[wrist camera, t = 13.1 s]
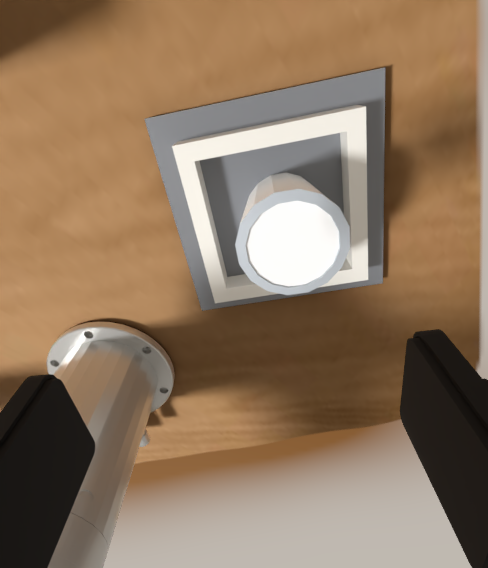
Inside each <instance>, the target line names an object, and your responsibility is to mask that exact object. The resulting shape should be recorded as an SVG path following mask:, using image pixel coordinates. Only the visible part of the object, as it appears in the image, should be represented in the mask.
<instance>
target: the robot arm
mask: <svg viewBox="0 0 488 568" xmlns="http://www.w3.org/2000/svg"><path fill="white" fill-rule="evenodd" d="M47 369H48V374H47V375H38V376H30V377H28V378H27V379H26V380H25V381H24V382H23V383H22V385H21V386H20V387H19V389H18V390H17V391H16V393H15V394H14V395H13V397H12V398H11V399H10V401H9V402H8V403H7V405H6V406H5V407H4V409H3V410H2V411H1V412H0V568H103V566H104V562H105V559H106V555H107V551H108V549H109V545H110V542H111V539H112V536H113V532H114V529H115V525H116V522H117V519H118V516H119V512H120V509H121V506H122V502H123V499H124V496H125V492H126V488H127V486H128V482H129V479H130V475H131V472H132V469H133V466H134V462H135V459H136V456H137V452H138V449H139V446H140V447H143V446H146V445H147V444H148V443H149V441H150V437H149V435H148V433H147V431H146V425H147V422H148V419H149V415H150V413H151V412H153V411H155V410H156V409H158V408H159V407H161V406H162V405H163V404H164V403H165V402H166V401H167V399H168V398H169V396H170V394H171V391H172V388H173V384H174V377H175V374H174V367H173V365H172V362H171V359H170V357H169V356H168V354H167V353H166V351H165V350H164V349H163V348H162V347H161V346H160V345H159V344H158V343H157V342H156V341H155V340H153V339H152V338H151V337H149V336H148V335H147V334H145V333H143V332H141V331H139V330H137V329H135V328H132V327H129V326H126V325H123V324H118V323H113V322H89V323H84V324H80V325H77V326H74V327H72V328H71V329H69V330H67V331H65V332H64V333H63V334H62V335H61V336H60V337H59V338H58V339H57V340H56V342H55V343H54V344H53V346H52V347H51V349H50V351H49V353H48V357H47ZM400 416H401V420H402V423H403V425H404V427H405V429H406V432H407V434H408V436H409V438H410V440H411V442H412V444H413V446H414V448H415V450H416V452H417V454H418V457H419V459H420V461H421V463H422V465H423V467H424V469H425V471H426V473H427V475H428V477H429V480H430V482H431V484H432V486H433V488H434V490H435V492H436V494H437V496H438V498H439V500H440V503H441V504H442V507H443V509H444V511H445V513H446V515H447V517H448V519H449V521H450V523H451V525H452V528H453V530H454V532H455V534H456V536H457V538H458V540H459V542H460V544H461V546H462V548H463V551H464V553H465V555H466V557H467V559H468V561H469V563H470V565H471V566H472V568H488V380H487V379H482V378H481V377H480V376H479V374H478V373H477V372H476V371H475V370H474V368H473V367H472V366H471V365H470V364H469V362H468V361H467V360H466V359H465V358H464V356H463V355H462V354H461V353H460V351H459V350H458V349H457V348H456V347H455V345H454V344H453V343H452V342H451V341H450V339H449V338H448V337H447V336H446V335H445V333H444V332H443V331H441V330H439V329H438V330H429V331H420V332H415V334H414V336H413V338H410V339H408V340H407V346H406V356H405V366H404V376H403V385H402V395H401V405H400Z"/></svg>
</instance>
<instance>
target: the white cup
mask: <svg viewBox="0 0 488 568" xmlns="http://www.w3.org/2000/svg"><path fill="white" fill-rule="evenodd" d="M235 247H236V252H237V257H238V262H239V265H240V267H241V268H242V269H243V271H244V272H245V274H246V275H247V276H248V278H249V279H250V281H252V282H254V283H255V284H257V285H258V286H260V287H262V288H263V289H265V290H266V291H269V292H274V293H279V294H284V295H293V294H300V293H307V292H310V291H312V290H314V289H316V288H318V287H320V286H322V285H324V284H326V283H328V281H329V280H330V279H331V278H332V277H333V276H334V275H335V274H336V273H337V272H338V271H339V270H340V269H341V268H342V266H343V264H344V261H345V259H346V256H347V254H348V252H349V249H350V227H349V225H348V223H347V221H346V219H345V217H344V215H343V213H342V211H341V209H340V208H339V207H338V206H337V205H336V204H335V203H333V202H332V201H331V200H330V199H329V198H327V197H326V196H325V195H324V194H322V193H321V192H320V191H319V190H318V189H316V188H315V187H314V186H313V185H311V184H310V183H309V182H308V181H306V180H305V179H304V178H302V177H301V176H298V175H294V174H290V173H280V174H274V175H270V176H269V177H267V178H265V179H264V180H262V181H261V182H259V183H258V184H257V185H256V187H255V188H254V189H253V191H252V192H251V194H250V195H249V198H248V201H247V204H246V207H245V210H244V213H243V216H242V219H241V222H240V226H239V230H238V234H237V239H236V243H235Z"/></svg>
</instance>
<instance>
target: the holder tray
mask: <svg viewBox="0 0 488 568" xmlns="http://www.w3.org/2000/svg"><path fill="white" fill-rule="evenodd" d="M145 123H146V126H147V129H148V133H149V136H150V139H151V143H152V146H153V149H154V153H155V156H156V159H157V163H158V166H159V169H160V173H161V176H162V179H163V183H164V186H165V189H166V192H167V196H168V199H169V202H170V206H171V209H172V212H173V216H174V219H175V222H176V226H177V229H178V232H179V236H180V239H181V242H182V246H183V249H184V252H185V256H186V259H187V262H188V266H189V269H190V272H191V276H192V279H193V282H194V286H195V289H196V292H197V296H198V299H199V302H200V306H201V309H202V311H203V310H210V309H217V308H223V307H230V306H236V305H243V304H249V303H256V302H262V301H269V300H276V299H282V298H289V297H295V296H302V295H308V294H315V293H322V292H328V291H335V290H341V289H348V288H354V287H361V286H367V285H374V284H381V283H383V226H384V140H385V68H379V69H374V70H369V71H365V72H360V73H355V74H351V75H346V76H341V77H337V78H332V79H327V80H323V81H318V82H313V83H309V84H304V85H299V86H295V87H290V88H285V89H281V90H276V91H271V92H267V93H262V94H257V95H253V96H248V97H243V98H239V99H234V100H229V101H225V102H220V103H215V104H211V105H206V106H201V107H196V108H192V109H187V110H182V111H178V112H173V113H168V114H164V115H159V116H154V117H150V118H146V119H145ZM280 173H290V174H294V175H298V176H301V177H302V178H304V179H305V180H306V181H308V182H309V183H310V184H311V185H313V186H314V187H315V188H316V189H318V190H319V191H320V192H321V193H322V194H324V195H325V196H326V197H327V198H329V199H330V200H331V201H332V202H333V203H335V204H336V205H337V206H338V207H339V208H340V209H341V211H342V213H343V215H344V217H345V219H346V221H347V223H348V225H349V227H350V249H349V252H348V254H347V256H346V259H345V261H344V264H343V266H342V268H341V269H340V270H339V271H338V272H337V273H336V274H335V275H334V276H333V277H332V278H331V279H330V280H329V281H328V283H326V284H324V285H322V286H320V287H318V288H316V289H314V290H312V291H310V292H307V293H300V294H293V295H284V294H279V293H274V292H269V291H266V290H265V289H263V288H262V287H260V286H258V285H257V284H255V283H254V282H252V281H250V279H249V278H248V276H247V275H246V274H245V272H244V271H243V269H242V268H241V267H240V265H239V262H238V257H237V252H236V247H235V243H236V239H237V234H238V230H239V226H240V222H241V219H242V216H243V213H244V210H245V207H246V204H247V201H248V198H249V195H250V194H251V192H252V191H253V189H254V188H255V187H256V185H257V184H258V183H259V182H261V181H262V180H264V179H265V178H267V177H269V176H270V175H274V174H280Z"/></svg>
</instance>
